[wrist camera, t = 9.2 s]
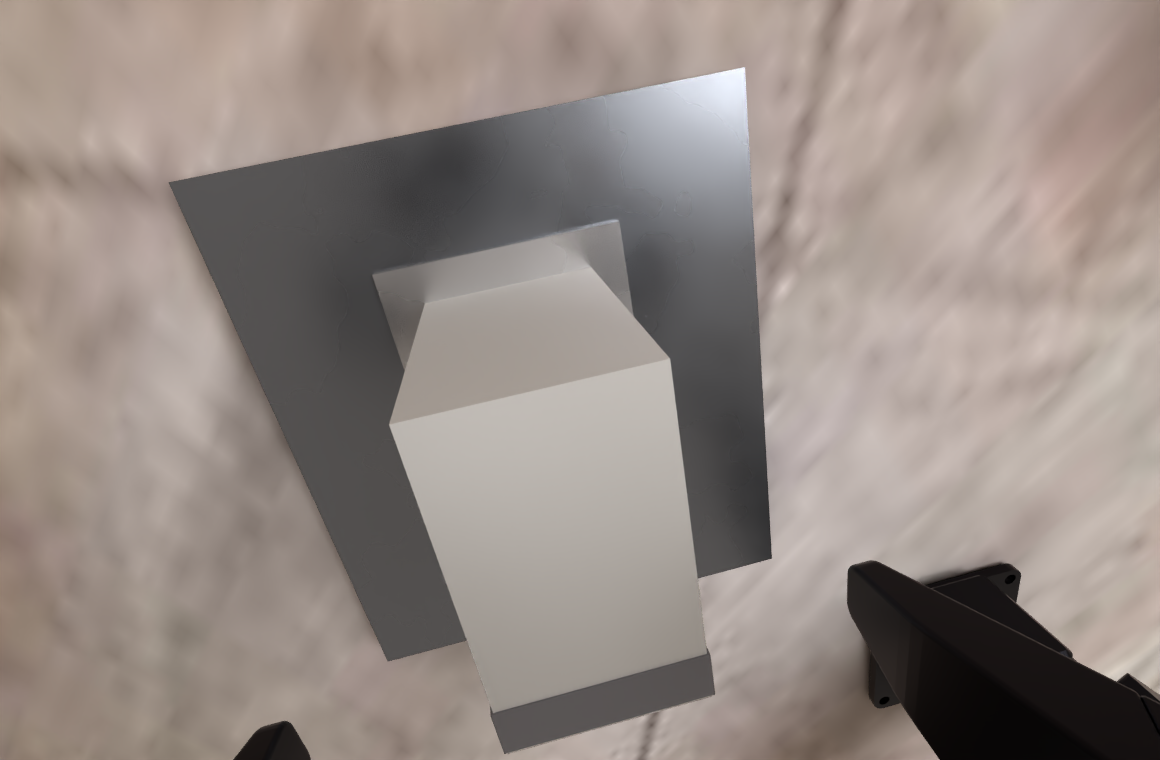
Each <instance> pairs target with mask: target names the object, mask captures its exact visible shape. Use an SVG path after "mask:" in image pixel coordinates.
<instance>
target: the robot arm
mask: <svg viewBox="0 0 1160 760" xmlns="http://www.w3.org/2000/svg"><path fill="white" fill-rule="evenodd" d="M1020 579H1021V573H1020V572H1019V571H1018V570H1017V569H1016V568H1015V567H1014V566H1012V565H1011V564H1002V565H998V566H995V567H991V568H988V569H984V570H980V571H977V572H973V573H970V574H966V575H962V576H959V577H955V578H952V579H948V580H944V581H941V582H937V583H934V584H930V585H926V586H925V585H923V584H921V583H919V582H917V581H915V580H913V579H911V578H909V577H907V576H905V575H903V574H901V573H899V572H897V571H895V570H893V569H892V568H890V567H888V566H886V565H884V564H882V563H880V562H877V561H872V560H871V561H866V562H862V563H859V564H855V565H852V566H850V568H849V570H848V581H847V605H848V609H849V612H850V614H851V617H852V619H853V620H854V622H855V624H856V626H857V627H858V629H859V631H860V633H861V634H862V636H863V638H864V640H865V641H866V643H867V645H868V647H869V648H870V650H871V655H870V680H869V698H870V700H871V701H872V703H873V704H874V706H875V707H877V708H885V707H888V706H892V705H895V704H899V703H901V704H902V706H903V707H904V709H905V710H906V712H907V713H908V715H909V716H910V718H911V719H912V721H913V722H914V724H915V725H916V727H917V728H918V730H919V731H920V732H921V734H922V735H923V737H924V738H925V739H926V741H927V742H928V744H929V745H930V747H931V748H932V749H933V751H934V752H935V754H936V755H937V757H938V758H939V759H940V760H1160V695H1159V694H1158V693H1156V692H1155V691H1153V690H1152V689H1150V688H1149V687H1148V686H1146V685H1145V684H1143V683H1142V682H1140V681H1139V680H1137V679H1136V678H1134V677H1133V676H1131V675H1130V674H1129V673H1127V674H1125V675H1124V676H1123V677H1122V678H1121V679H1119V680H1118V681H1117V682H1116V681H1114V680H1112V679H1110V678H1108V677H1106V676H1104V675H1102V674H1100V673H1098V672H1096V671H1094V670H1092V669H1090V668H1088V667H1086V666H1084V665H1082V664H1080V663H1078V662H1077V661H1076V660H1075V659H1074V658H1072V657H1073V654H1072V652H1071V651H1070V650H1069V649H1068V648H1067V647H1066V646H1065V645H1064V644H1062V643H1061V642H1060V641H1059V640H1058V639H1057V638H1056V637H1054V636H1053V635H1052V634H1051V633H1050V632H1049V631H1048V630H1047V629H1045V628H1044V627H1043V626H1042V625H1041V624H1040V623H1039V622H1037V621H1036V620H1035V619H1034V618H1033V617H1032V616H1031V615H1029V614H1028V613H1027V612H1026V611H1025V610H1024V609H1023V608H1021V607H1020V606H1019V605H1018V604H1017V603H1016V601H1017V595H1018V590H1019V584H1020ZM233 760H311V759H310V755H309V752H308V750H307V749H306V747H305V745H304V744H303V742H302V740H301V739H300V737H299V735H298V734H297V732H296V730H295V729H294V727H293V725H292V724H291V723H289V722H288V721H282V722H278V723H274V724H271V725H267V726H264V727H261V728H260V729H258V730H257V731H256V732H255V733H254V734H253V735H252V737H251V738H250V739H249V740H248V742H247V743H246V744H245V746H244V747H243V748H242V749H241V751H240V752H239V753H238V754H237V756H236V757H235V758H234V759H233Z"/></svg>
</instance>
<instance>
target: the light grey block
mask: <svg viewBox="0 0 1160 760" xmlns="http://www.w3.org/2000/svg"><path fill="white" fill-rule="evenodd" d="M389 426H390V429H391V432H392V434H393V437H394V440H395V443H396V445H397V448H398V451H399V454H400V456H401V459H402V462H403V465H404V468H405V470H406V473H407V476H408V479H409V481H410V484H411V487H412V490H413V493H414V495H415V498H416V501H417V504H418V506H419V509H420V512H421V515H422V517H423V520H424V523H425V526H426V529H427V531H428V534H429V537H430V540H431V542H432V545H433V548H434V551H435V554H436V556H437V559H438V562H439V565H440V567H441V570H442V573H443V576H444V578H445V581H446V584H447V587H448V590H449V592H450V595H451V598H452V601H453V603H454V606H455V609H456V612H457V615H458V617H459V620H460V623H461V626H462V628H463V631H464V634H465V637H466V639H467V642H468V645H469V648H470V651H471V653H472V656H473V659H474V662H475V664H476V667H477V670H478V673H479V676H480V678H481V681H482V684H483V687H484V689H485V692H486V695H487V698H488V700H489V703H490V710H491V718H492V721H493V724H494V727H495V729H496V732H497V735H498V738H499V740H500V743H501V746H502V749H503V751H504V754H506V753H508V754H510V753H513V752H517V751H520V750H524V749H528V748H531V747H535V746H538V745H542V744H545V743H549V742H552V741H556V740H559V739H563V738H566V737H570V736H573V735H577V734H581V733H584V732H588V731H591V730H595V729H598V728H602V727H605V726H609V725H612V724H616V723H619V722H623V721H626V720H630V719H634V718H637V717H641V716H644V715H648V714H651V713H655V712H658V711H662V710H665V709H669V708H672V707H676V706H680V705H683V704H687V703H690V702H694V701H697V700H701V699H704V698H708V697H711V696H712V695H715V689H714V681H713V673H712V665H711V657H710V653H709V651H708V649H707V647H706V641H705V633H704V625H703V617H702V609H701V601H700V593H699V585H698V577H697V569H696V561H695V553H694V545H693V537H692V529H691V521H690V513H689V505H688V497H687V489H686V481H685V474H684V466H683V458H682V450H681V442H680V434H679V426H678V418H677V410H676V402H675V394H674V386H673V378H672V370H671V362H670V358H669V357H668V356H667V355H666V353H665V352H664V351H663V350H662V349H661V348H660V346H659V345H658V344H657V343H656V342H655V341H654V339H653V338H652V337H651V336H650V335H649V334H648V332H647V331H646V330H645V329H644V328H643V327H642V326H641V324H640V323H639V322H638V321H637V320H636V319H635V317H634V316H633V315H632V314H631V313H630V312H629V310H628V309H627V308H626V307H625V306H624V305H623V303H622V302H621V301H620V300H619V299H618V298H617V296H616V295H615V294H614V293H613V292H612V291H611V290H610V288H609V287H608V286H607V285H606V284H605V283H604V281H603V280H602V279H601V278H600V277H599V276H598V274H597V273H596V272H595V271H594V270H593V269H592V267H589V268H584V269H580V270H575V271H571V272H566V273H562V274H557V275H553V276H548V277H543V278H539V279H534V280H530V281H525V282H521V283H516V284H512V285H507V286H502V287H498V288H493V289H489V290H484V291H480V292H475V293H471V294H466V295H462V296H457V297H452V298H448V299H443V300H439V301H434V302H430V303H425V305H424V308H423V312H422V315H421V318H420V322H419V325H418V328H417V332H416V335H415V339H414V342H413V345H412V349H411V352H410V356H409V359H408V362H407V366H406V369H405V372H404V376H403V379H402V383H401V386H400V389H399V393H398V396H397V399H396V403H395V406H394V410H393V413H392V416H391V420H390V423H389Z"/></svg>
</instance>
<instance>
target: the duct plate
mask: <svg viewBox="0 0 1160 760" xmlns="http://www.w3.org/2000/svg"><path fill="white" fill-rule="evenodd" d="M169 184H170V187H171V189H172V191H173V193H174V195H175V198H176V200H177V202H178V204H179V206H180V208H181V211H182V213H183V215H184V217H185V219H186V222H187V224H188V226H189V228H190V230H191V232H192V235H193V237H194V239H195V241H196V243H197V246H198V248H199V250H200V252H201V254H202V256H203V259H204V261H205V263H206V265H207V267H208V270H209V272H210V274H211V276H212V278H213V280H214V283H215V285H216V287H217V289H218V291H219V294H220V296H221V298H222V300H223V302H224V305H225V307H226V309H227V311H228V313H229V315H230V318H231V320H232V322H233V324H234V326H235V329H236V331H237V333H238V335H239V337H240V339H241V342H242V344H243V346H244V348H245V350H246V353H247V355H248V357H249V359H250V361H251V363H252V366H253V368H254V370H255V372H256V374H257V377H258V379H259V381H260V383H261V385H262V388H263V390H264V392H265V394H266V396H267V398H268V401H269V403H270V405H271V407H272V409H273V412H274V414H275V416H276V418H277V420H278V422H279V425H280V427H281V429H282V431H283V433H284V436H285V438H286V440H287V442H288V444H289V446H290V449H291V451H292V453H293V455H294V457H295V460H296V462H297V464H298V466H299V468H300V470H301V473H302V475H303V477H304V479H305V481H306V484H307V486H308V488H309V490H310V492H311V495H312V497H313V499H314V501H315V503H316V505H317V508H318V510H319V512H320V514H321V516H322V519H323V521H324V523H325V525H326V527H327V529H328V532H329V534H330V536H331V538H332V540H333V543H334V545H335V547H336V549H337V551H338V553H339V556H340V558H341V560H342V562H343V564H344V567H345V569H346V571H347V573H348V575H349V578H350V580H351V582H352V584H353V586H354V588H355V591H356V593H357V595H358V597H359V599H360V602H361V604H362V606H363V608H364V610H365V612H366V615H367V617H368V619H369V621H370V623H371V626H372V628H373V630H374V632H375V634H376V636H377V639H378V641H379V643H380V645H381V647H382V650H383V652H384V654H385V656H386V658H387V661H392V660H395V659H399V658H403V657H407V656H410V655H414V654H418V653H421V652H425V651H429V650H433V649H436V648H440V647H444V646H448V645H451V644H455V643H459V642H462V641H466V640H467V639H466V637H465V634H464V631H463V628H462V626H461V623H460V620H459V617H458V615H457V612H456V609H455V606H454V603H453V601H452V598H451V595H450V592H449V590H448V587H447V584H446V581H445V578H444V576H443V573H442V570H441V567H440V565H439V562H438V559H437V556H436V554H435V551H434V548H433V545H432V542H431V540H430V537H429V534H428V531H427V529H426V526H425V523H424V520H423V517H422V515H421V512H420V509H419V506H418V504H417V501H416V498H415V495H414V493H413V490H412V487H411V484H410V481H409V479H408V476H407V473H406V470H405V468H404V465H403V462H402V459H401V456H400V454H399V451H398V448H397V445H396V443H395V440H394V437H393V434H392V432H391V429H390V426H389V423H390V420H391V416H392V413H393V410H394V406H395V403H396V399H397V396H398V393H399V389H400V386H401V383H402V379H403V376H404V372H405V369H406V366H407V362H408V359H409V356H410V352H411V349H412V345H413V342H414V339H415V335H416V332H417V328H418V325H419V322H420V318H421V315H422V312H423V308H424V305H425V303H430V302H434V301H439V300H443V299H448V298H452V297H457V296H462V295H466V294H471V293H475V292H480V291H484V290H489V289H493V288H498V287H502V286H507V285H512V284H516V283H521V282H525V281H530V280H534V279H539V278H543V277H548V276H553V275H557V274H562V273H566V272H571V271H575V270H580V269H584V268H589V267H592V269H593V270H594V271H595V272H596V273H597V274H598V276H599V277H600V278H601V279H602V280H603V281H604V283H605V284H606V285H607V286H608V287H609V288H610V290H611V291H612V292H613V293H614V294H615V295H616V296H617V298H618V299H619V300H620V301H621V302H622V303H623V305H624V306H625V307H626V308H627V309H628V310H629V312H630V313H631V314H632V315H633V316H634V317H635V319H636V320H637V321H638V322H639V323H640V324H641V326H642V327H643V328H644V329H645V330H646V331H647V332H648V334H649V335H650V336H651V337H652V338H653V339H654V341H655V342H656V343H657V344H658V345H659V346H660V348H661V349H662V350H663V351H664V352H665V353H666V355H667V356H668V357H669V358H670V362H671V370H672V378H673V386H674V394H675V402H676V410H677V418H678V426H679V434H680V442H681V450H682V458H683V466H684V474H685V481H686V489H687V497H688V505H689V513H690V521H691V529H692V537H693V545H694V553H695V561H696V569H697V577H698V578H701V577H705V576H708V575H712V574H716V573H720V572H723V571H727V570H731V569H734V568H738V567H742V566H746V565H749V564H753V563H757V562H761V561H764V560H768V559H772V554H771V536H770V517H769V499H768V481H767V463H766V445H765V426H764V408H763V390H762V372H761V354H760V335H759V317H758V299H757V281H756V263H755V244H754V226H753V208H752V190H751V171H750V153H749V135H748V117H747V99H746V80H745V67H744V68H739V69H734V70H729V71H724V72H719V73H714V74H709V75H704V76H699V77H694V78H689V79H684V80H679V81H674V82H669V83H664V84H659V85H654V86H649V87H644V88H639V89H634V90H629V91H624V92H619V93H614V94H609V95H604V96H599V97H594V98H589V99H584V100H579V101H574V102H569V103H564V104H559V105H554V106H549V107H544V108H539V109H534V110H529V111H524V112H519V113H514V114H509V115H504V116H499V117H494V118H489V119H484V120H479V121H474V122H469V123H464V124H459V125H454V126H449V127H444V128H439V129H434V130H429V131H424V132H419V133H414V134H409V135H404V136H399V137H394V138H389V139H384V140H379V141H374V142H369V143H364V144H359V145H354V146H349V147H344V148H339V149H334V150H329V151H324V152H319V153H314V154H309V155H304V156H299V157H294V158H289V159H284V160H279V161H274V162H269V163H264V164H259V165H254V166H249V167H244V168H239V169H234V170H229V171H224V172H219V173H214V174H209V175H204V176H199V177H194V178H189V179H184V180H179V181H174V182H169Z"/></svg>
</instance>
